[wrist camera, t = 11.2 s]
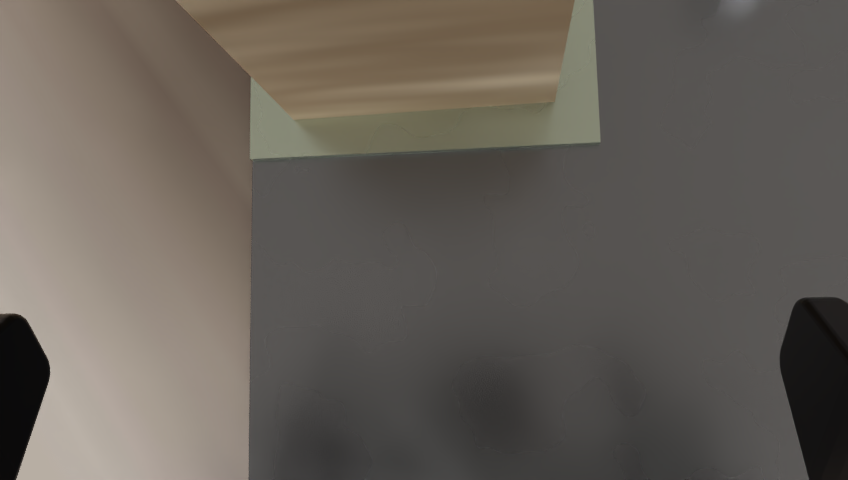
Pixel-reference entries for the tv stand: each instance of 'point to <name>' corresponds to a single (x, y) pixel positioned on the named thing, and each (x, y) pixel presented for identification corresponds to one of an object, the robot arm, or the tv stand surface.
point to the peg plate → (557, 260)
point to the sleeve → (392, 51)
